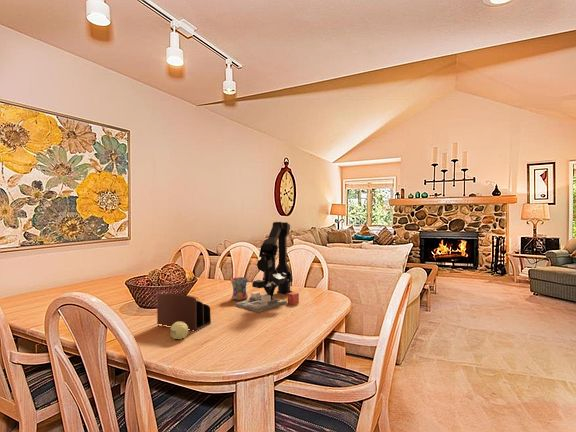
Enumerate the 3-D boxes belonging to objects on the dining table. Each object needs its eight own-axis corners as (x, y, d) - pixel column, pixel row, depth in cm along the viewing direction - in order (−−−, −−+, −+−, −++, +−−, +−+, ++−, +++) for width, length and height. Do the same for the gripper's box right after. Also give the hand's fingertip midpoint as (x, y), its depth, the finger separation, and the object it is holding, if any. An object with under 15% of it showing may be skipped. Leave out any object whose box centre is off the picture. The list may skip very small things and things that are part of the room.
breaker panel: (264, 297, 180) (264, 292, 180) (286, 303, 168) (286, 297, 168) (235, 305, 166) (235, 299, 166) (257, 312, 155) (257, 306, 155)
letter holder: (196, 332, 131) (194, 296, 131) (156, 326, 139) (155, 292, 139) (211, 324, 140) (210, 290, 140) (173, 319, 148) (172, 287, 148)
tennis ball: (167, 320, 125) (176, 324, 120) (184, 318, 130) (192, 322, 125) (165, 338, 124) (174, 342, 120) (182, 335, 129) (191, 340, 124)
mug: (244, 301, 173) (243, 281, 173) (227, 300, 176) (227, 280, 176) (253, 295, 185) (252, 276, 185) (237, 295, 188) (237, 276, 187)
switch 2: (265, 301, 168) (265, 294, 168) (270, 302, 165) (270, 295, 165) (261, 302, 166) (261, 295, 166) (266, 303, 163) (265, 296, 163)
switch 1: (255, 298, 173) (255, 291, 173) (260, 299, 171) (259, 292, 171) (251, 299, 171) (250, 292, 171) (255, 301, 169) (255, 293, 169)
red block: (293, 301, 171) (292, 291, 171) (298, 303, 168) (298, 293, 168) (287, 303, 168) (287, 293, 168) (293, 304, 165) (293, 294, 165)
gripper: (266, 272, 155) (267, 305, 155) (294, 266, 168) (295, 297, 168) (251, 269, 163) (252, 301, 163) (279, 264, 176) (279, 294, 176)
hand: (270, 298), depth 167 cm, fingers closed
